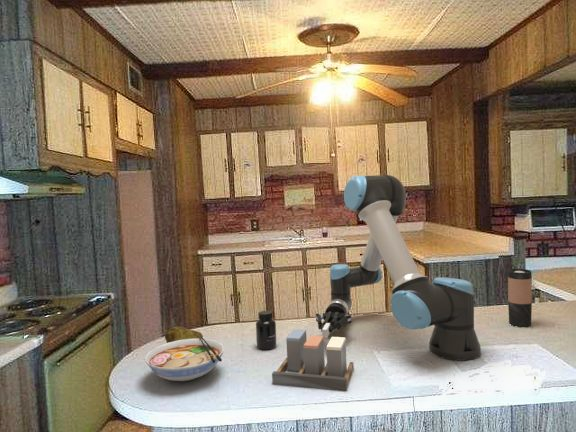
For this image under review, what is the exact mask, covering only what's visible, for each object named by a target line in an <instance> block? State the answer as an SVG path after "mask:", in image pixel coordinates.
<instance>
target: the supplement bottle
mask: <svg viewBox="0 0 576 432" xmlns="http://www.w3.org/2000/svg"><path fill="white" fill-rule="evenodd" d="M257 318H258V319H257V320H256V322H255V330H256V331H255V337H256V347H257V349H259V350H261V351H270V350H273V349H275V348H276V347H277V323H276V320H275V319H274V316H273V311H272V310H261V311H259V312H258V316H257Z"/></svg>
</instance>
